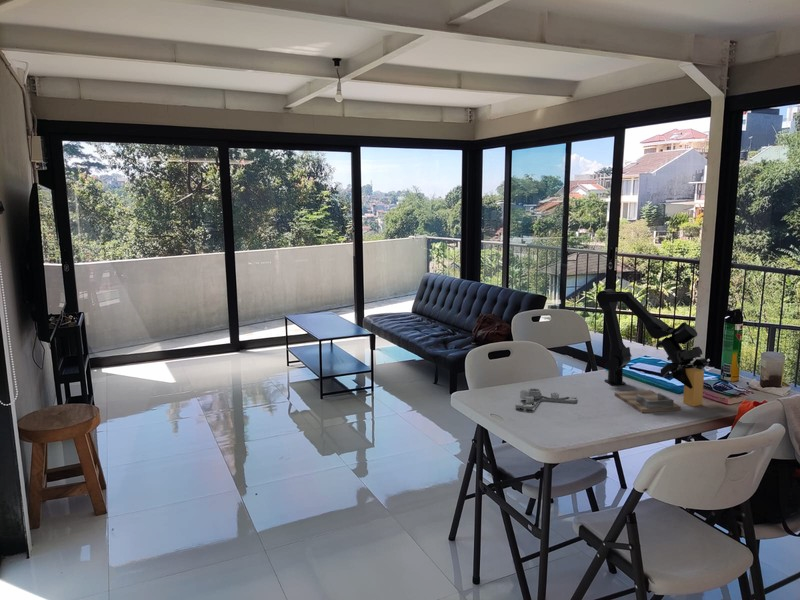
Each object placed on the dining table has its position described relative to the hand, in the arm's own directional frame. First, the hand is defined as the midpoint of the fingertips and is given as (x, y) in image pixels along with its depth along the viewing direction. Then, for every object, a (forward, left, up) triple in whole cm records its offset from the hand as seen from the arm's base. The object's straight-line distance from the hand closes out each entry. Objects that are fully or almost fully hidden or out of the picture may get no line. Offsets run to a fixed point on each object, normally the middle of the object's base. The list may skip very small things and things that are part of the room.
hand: (696, 387), depth 216 cm
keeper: (-6, -16, -7) cm, 18 cm away
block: (-1, 0, -7) cm, 7 cm away
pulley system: (-16, -53, -7) cm, 56 cm away
